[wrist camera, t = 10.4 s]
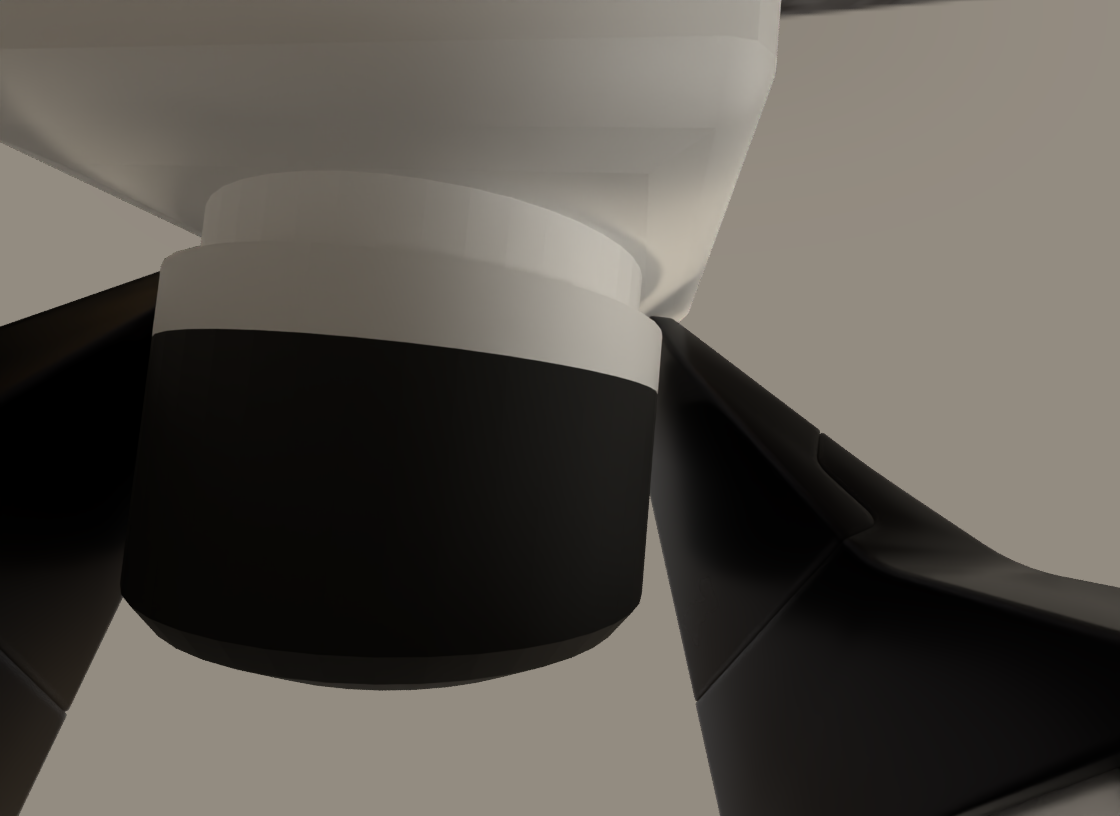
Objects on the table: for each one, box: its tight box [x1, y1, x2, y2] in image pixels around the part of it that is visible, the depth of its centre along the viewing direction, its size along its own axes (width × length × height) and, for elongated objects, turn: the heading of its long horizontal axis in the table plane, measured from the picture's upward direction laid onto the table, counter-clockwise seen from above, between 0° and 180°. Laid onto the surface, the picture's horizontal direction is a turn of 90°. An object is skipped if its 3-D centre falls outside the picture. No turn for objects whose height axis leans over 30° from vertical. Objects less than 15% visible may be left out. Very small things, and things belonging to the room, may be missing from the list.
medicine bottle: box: [0, 0, 781, 690], centre depth 8 cm, size 7×7×12 cm
